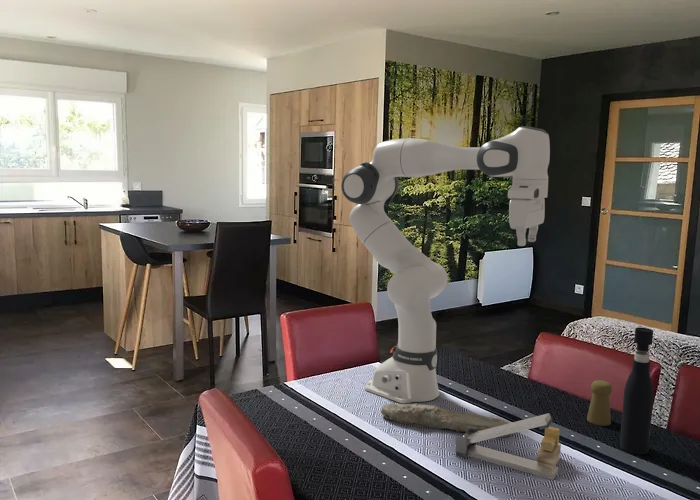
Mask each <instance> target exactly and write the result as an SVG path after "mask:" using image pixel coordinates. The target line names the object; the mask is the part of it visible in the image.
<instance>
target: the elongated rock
mask: <svg viewBox="0 0 700 500" xmlns="http://www.w3.org/2000/svg"><path fill="white" fill-rule="evenodd" d="M380 413H381V415H382V416H384V417H385V419H387V420H391V421H394V422H397V423H400V424H404V425H411V426H414V427H415V428H418V427H420V428H430V429H438V430H445V429H448V430H452V431H456V432H458V433H459V432H460V433H461V432H463V433H466V427H467V426H471V427H475V428H477V432H478V431H481V430H485V429H489V428H493V427H497V426H501V425H505V424H509V423H510V422H508V421H505V420H504V419H501V418H499V417H493V416H485V415H479V414H474V413H469V412H468V413H467V412H460V411H453V410H450V409H447V408H443V407H440V406H438V405H433V404H432V405H431V404H422V403H421V404H419V403H417V402H415V403H413V404H412V403H387V404H386V403H385V404H384V405H382V407H381V410H380ZM513 434H514V433H512V434H507V435H503V436H499V437H501V438H503V437H504V438H509V437H511V436H512V435H513ZM499 437H498V438H499Z"/></svg>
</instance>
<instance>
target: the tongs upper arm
mask: <svg viewBox="0 0 700 500" xmlns="http://www.w3.org/2000/svg"><path fill="white" fill-rule="evenodd" d="M553 421H554V420H553V419H552V416H551V413H550V412H549V413H545V414H540V415H536V416H533V417H529V418H525V419H521V420H517V421H512V422H509V424H505V425H501V426H497V427H493V428H489V429H485V430H481V431H478V432H474V433H473V432H472V431H467V432H464V434H463V435H461V437H465V438H467V446H468V445H469V444H471V443H475V442H476V443H479V442H482V441H487V440H491V439H495V438H499V436H503V435H507V434H512V433H513V434H515V433H519V432H523V431H527V430H532V429H535V428H538V429H539V430H540V431H541V430H545V429H546V428H549V426H550V427H551V425H552V423H553ZM513 434H512V435H513Z"/></svg>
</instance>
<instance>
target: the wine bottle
mask: <svg viewBox="0 0 700 500" xmlns="http://www.w3.org/2000/svg"><path fill="white" fill-rule="evenodd" d="M653 339H654V330H653V329H652V328H648V327H636V328H634V340H633V341H634V343H635V344H636V351H635V352H634V354H633V355H634V356H633V359H632V364H631V365H632V366H631V372H630V373H629V376H627V377H628V378H627V379H626V382H625V386H624V389H623V398H622V399H623V403H622V411H621V412H622V413H621V414H622V415H621V424H620V425H621V426H620V437H619V447H620V448H621V450H623V451H624V452H627V453H629V454H633V455H645V454H648V453H649V451H650V450H649V449H650V439H651V429H652V418H653V417H652V416H653V406H654V397H655V393H654V385H653V382H652V378H651V374H650V372H651V371H650V370H651V361H650V360H651V359H650V358H651V356H650V353H649V352H650V351H649V348H650V347H649V346H651V345H653Z"/></svg>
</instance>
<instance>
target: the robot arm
mask: <svg viewBox="0 0 700 500" xmlns="http://www.w3.org/2000/svg"><path fill="white" fill-rule="evenodd" d="M550 145H551V144H550V136H549V133H548V132H547V131H546V130H544V129H542V128H538V127H537V128H536V127H532V126H525V125H522V126H519V127H517V128H516V129H515V130H513V131H512V132H510V133H509V134H507V135H504V136H502V137H498V138H496V139H492V140H490V141H488V142H485V143H484V144H482V145H481V146H480V147H472V146H471V147H468V146H467V147H465V146H464V147H463V146H462V147H461V146H455V145H451V144H447V143H443V142H438V141H436V140H435V141H434V140H429V139H425V138H416V137H415V138H414V137H411V138H410V137H409V138H408V137H407V138H406V137H405V138H395V139H388V140H385V141H382V142H380V143H378V144H377V145H376V146H375V147H374V149H373V153H372V159H371V162H368V161H364V162H362V163H361V164H359V165H357V166H356V167H354V168H352V169H350V170H349V171H347V172H346V173H345V174H344V175H343V177H342V181H341V185H340V186H341V187H340V188H341V191H342V194H343V196H344V197H345V199H346V200H348V201H349V202H351V203H353V204H355V206H354V207H353V208H352V210H350V213H349V215H348V216H349V217H348V218H349V222H350V226H351V228H352V230H353V231H354V232H355V234H356V236H357V237H358V239H359V240H360V242H361V243H362V245H363V246H364V247H365V248H366V249H367V251H368V252H369V254H371V256H372V257H373V258H374V260H375V261H376V262H377V264H379V265H380V266H381V267H383V268H385V269H387V270H389V271H390V272H392V273H393V274H394V275H393V276H391V277H390V279H389V280H388V282H387V284H386V285H387V286H386V292H387V295H388V298H389V299H390V301H391V302H392V303H393V304H394V307H395V310H396V315H397V321H398V329H397V330H398V332H397V333H398V340H397V343H396V345H395V346H393V347H392V348H391V349H390V352H389V353H390V354H392V356H390V358H388V359H386V360H385V361H383V362H382V363H380V364H379V365H378V366H377V367H376V368H375V370H374V372H373V377H372V378H371V379H370V380H369V381H367V382H366V384H365V386H364V387H365V388H364V389H365V391H367V392H369V393H373V394H375V395H378V396H381V397H382V398H386V399H388V400H392V401H395V402H397V403H399V404H410V403H414V402H415V403H417V402H418V403H420V402H421V403H422V402H429V401H433V400H435V399H437V398H438V397H439V396H440V389H439V385H438V379H437V369H436V367H437V362H438V349H437V347H436V345H437V343H436V341H437V322H436V320H435V319H434V318H433V315H432V314H433V313H432V311H431V310H432V309H431V299H434V298H436V297H437V296H439V295H440V294H441V293H442V292H443V291H444V289H445V288H446V287H447V285H448V277H449V276H448V273H447V271H446V269H445V268H444V267H443V265H441V264H439V263H437V262H435V261H433V260H432V259H430V258H429V257H428V256H427V255H425V254H424V253H423V252H422V251H421V250H419V249H418V248H417V247H415V245H413V244H412V243H411V242H410V241H409V240H408V239H407V238H406V236H405V235H404V234H403V233H402V232H401V230H400V229H399V228H398V227H397V225H396V224H395V223H394V222H393V220H391V218H390V217H389V216H388V215H387V213H386V211H385V208H387V207H388V206H389V205H390V204H391V201H392V200H393V198H394V197H395V195H396V194H397V192H398V190H399V186H400V180H399V178H403V177H405V178H420V177H426V176H427V177H428V176H432V175H433V176H434V175H436V174H437V175H438V174H442V173H447V172H452V171H457V170H475V171H476V170H478V171H479V170H480V171H481V172H482V174H484V175H487V176H489V177H492V178H493V177H494V178H497V177H498V178H499V177H500V178H501V177H502V178H504V177H505V178H512V184H511V186H510V188H509V189H508V190H507V199H510V200H509V203H508V206H509V207H508V208H509V209H508V221H509V227H510V229H512V230H516V231H515V233H516V239H517V244H516V245H517V246H519V247H524V246H526V245H527V242H529V243H534V242H536V241H537V234H538V230H539V226H540V225H541V224H544V221H545V214H546V213H545V211H546V210H545V209H546V208H545V207H546V205H545V203H546V202H545V201H546V200H545V198H548V192H549V175H548V168H549V165H550V162H551V161H550V158H551V157H550V156H551V155H550V154H551V149H550V148H551V146H550ZM527 229H529V230H528V235H527V238H526V233H527Z"/></svg>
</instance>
